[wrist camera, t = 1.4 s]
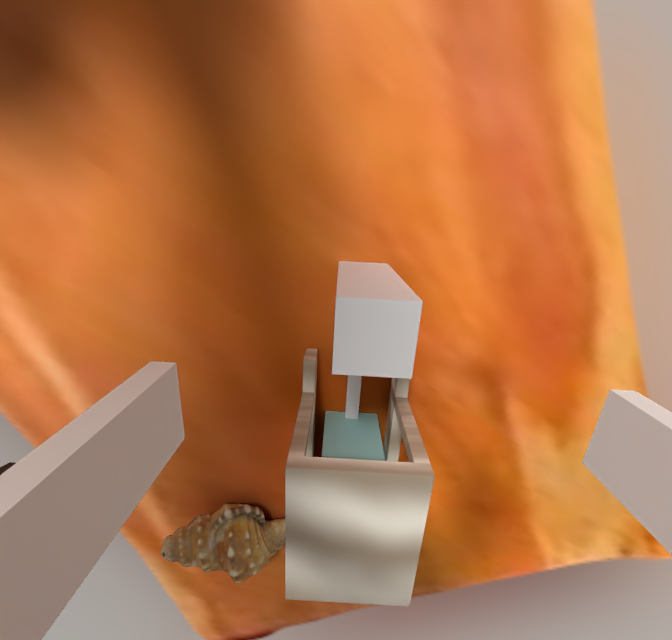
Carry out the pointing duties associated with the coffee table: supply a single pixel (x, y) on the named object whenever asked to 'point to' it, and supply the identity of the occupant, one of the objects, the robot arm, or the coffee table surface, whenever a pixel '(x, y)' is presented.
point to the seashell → (227, 541)
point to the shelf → (355, 510)
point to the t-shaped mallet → (368, 350)
